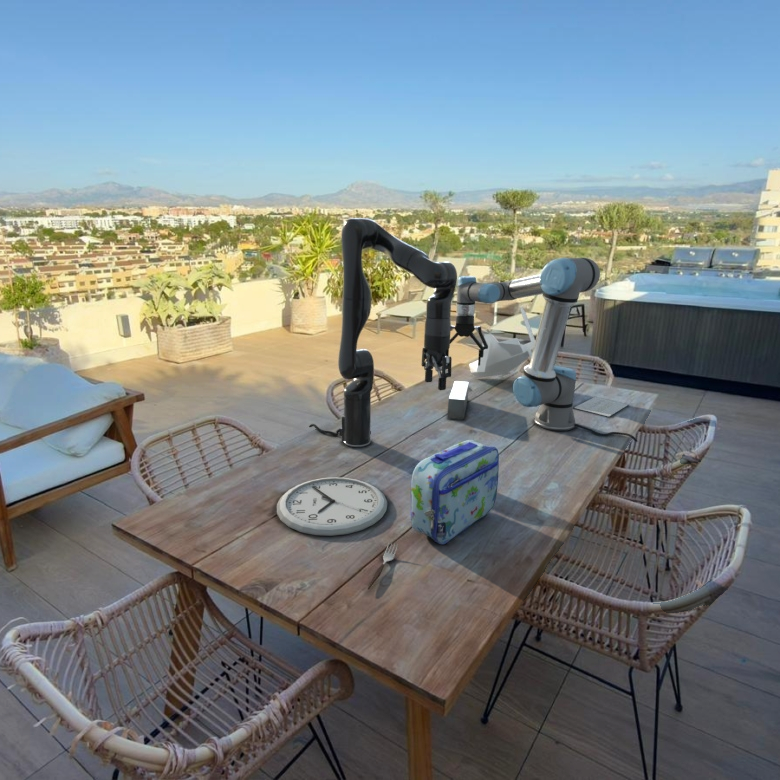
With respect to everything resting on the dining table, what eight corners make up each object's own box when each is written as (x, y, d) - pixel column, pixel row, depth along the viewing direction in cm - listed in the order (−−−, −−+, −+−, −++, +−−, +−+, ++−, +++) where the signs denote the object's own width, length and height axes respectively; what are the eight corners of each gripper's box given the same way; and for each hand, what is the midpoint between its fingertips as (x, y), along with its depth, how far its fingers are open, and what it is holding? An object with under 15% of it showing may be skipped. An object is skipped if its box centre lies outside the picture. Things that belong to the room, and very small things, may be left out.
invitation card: (608, 416, 214) (573, 407, 224) (608, 416, 214) (573, 408, 224) (628, 404, 229) (594, 396, 238) (628, 405, 229) (594, 397, 238)
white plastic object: (490, 419, 265) (470, 397, 240) (471, 347, 287) (451, 319, 262) (561, 395, 253) (548, 369, 228) (536, 321, 275) (521, 290, 250)
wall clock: (392, 527, 129) (268, 531, 127) (391, 533, 130) (269, 537, 127) (383, 473, 158) (282, 475, 155) (383, 478, 158) (282, 480, 156)
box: (453, 399, 233) (454, 380, 230) (467, 400, 232) (468, 381, 229) (447, 418, 209) (448, 398, 206) (463, 420, 208) (464, 399, 205)
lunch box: (436, 553, 122) (441, 472, 116) (403, 535, 129) (406, 457, 123) (500, 514, 140) (507, 441, 133) (468, 499, 147) (473, 430, 141)
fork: (362, 589, 110) (362, 581, 109) (388, 548, 124) (388, 541, 123) (373, 592, 109) (373, 584, 108) (398, 550, 123) (399, 543, 122)
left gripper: (415, 328, 157) (413, 380, 162) (437, 338, 144) (435, 394, 149) (437, 327, 160) (435, 378, 165) (461, 336, 147) (457, 391, 152)
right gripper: (434, 314, 217) (432, 364, 223) (495, 316, 212) (492, 367, 218) (436, 312, 224) (435, 360, 230) (496, 314, 219) (492, 363, 225)
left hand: (435, 385), depth 157 cm, fingers open, 8 cm apart
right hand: (463, 364), depth 224 cm, fingers open, 13 cm apart
